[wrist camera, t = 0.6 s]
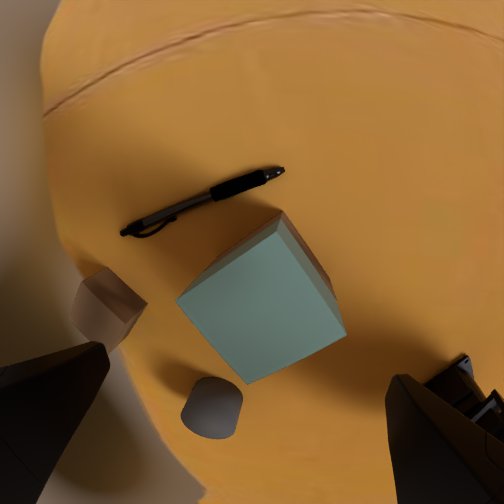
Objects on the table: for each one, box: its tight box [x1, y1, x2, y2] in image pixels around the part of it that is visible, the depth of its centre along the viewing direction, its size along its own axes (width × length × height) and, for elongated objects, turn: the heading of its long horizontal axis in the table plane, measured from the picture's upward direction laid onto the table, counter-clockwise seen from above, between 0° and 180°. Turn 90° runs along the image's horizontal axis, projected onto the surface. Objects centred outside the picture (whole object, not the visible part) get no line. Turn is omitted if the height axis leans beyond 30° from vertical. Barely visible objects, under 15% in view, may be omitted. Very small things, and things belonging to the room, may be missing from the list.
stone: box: [181, 377, 243, 439], centre depth 22 cm, size 5×5×4 cm
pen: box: [120, 167, 285, 238], centre depth 20 cm, size 14×2×1 cm, turn 110°
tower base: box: [204, 211, 337, 300], centre depth 18 cm, size 6×6×4 cm
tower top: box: [175, 219, 347, 384], centre depth 15 cm, size 6×6×4 cm
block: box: [68, 267, 148, 355], centre depth 21 cm, size 5×5×4 cm
